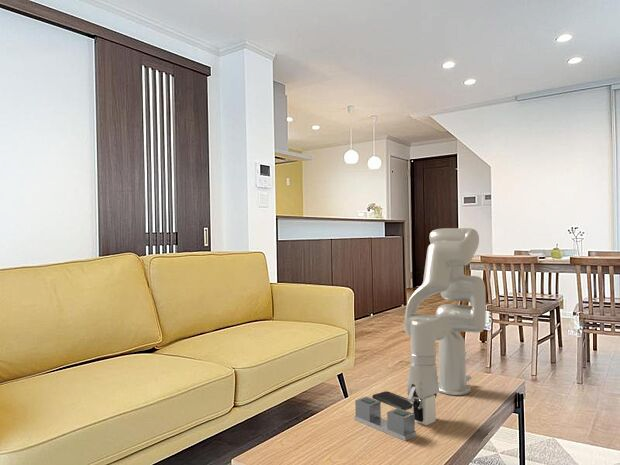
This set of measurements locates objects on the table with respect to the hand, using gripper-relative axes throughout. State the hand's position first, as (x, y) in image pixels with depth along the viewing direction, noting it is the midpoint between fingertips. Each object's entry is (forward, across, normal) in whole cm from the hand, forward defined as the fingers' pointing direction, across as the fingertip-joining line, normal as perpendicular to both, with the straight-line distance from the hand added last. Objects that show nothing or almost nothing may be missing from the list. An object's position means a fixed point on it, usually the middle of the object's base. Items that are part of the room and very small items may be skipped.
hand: (423, 417), depth 144 cm
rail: (+1, +13, -5) cm, 14 cm away
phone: (+2, -6, -17) cm, 18 cm away
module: (+1, 0, 0) cm, 1 cm away
